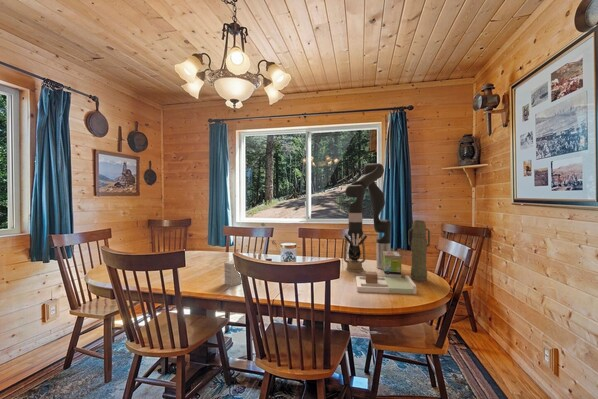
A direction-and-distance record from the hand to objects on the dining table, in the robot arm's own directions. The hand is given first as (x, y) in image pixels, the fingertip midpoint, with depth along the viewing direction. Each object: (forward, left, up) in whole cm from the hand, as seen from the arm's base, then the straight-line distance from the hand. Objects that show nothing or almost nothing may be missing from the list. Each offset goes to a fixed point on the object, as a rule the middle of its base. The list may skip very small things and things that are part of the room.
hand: (355, 252), depth 164 cm
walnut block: (0, +9, -16) cm, 18 cm away
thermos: (-17, +38, -19) cm, 45 cm away
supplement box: (+5, -69, -19) cm, 72 cm away
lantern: (-36, +1, -19) cm, 41 cm away
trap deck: (0, +16, -19) cm, 24 cm away
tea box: (-21, +23, -19) cm, 36 cm away
